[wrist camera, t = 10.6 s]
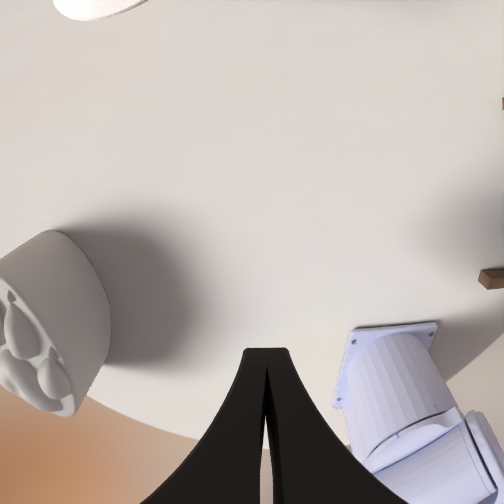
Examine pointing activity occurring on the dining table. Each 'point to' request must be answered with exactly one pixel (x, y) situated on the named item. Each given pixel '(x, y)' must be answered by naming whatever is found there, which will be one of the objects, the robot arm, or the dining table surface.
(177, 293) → the dining table surface
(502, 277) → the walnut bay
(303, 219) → the dining table surface
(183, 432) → the dining table surface
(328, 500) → the robot arm
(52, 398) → the lumpy-topped squat cylinder
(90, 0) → the panda figurine
